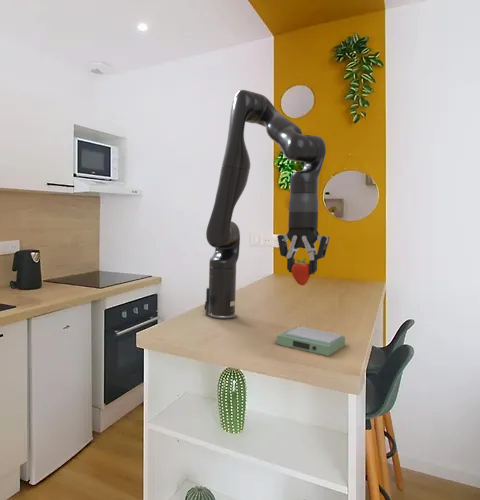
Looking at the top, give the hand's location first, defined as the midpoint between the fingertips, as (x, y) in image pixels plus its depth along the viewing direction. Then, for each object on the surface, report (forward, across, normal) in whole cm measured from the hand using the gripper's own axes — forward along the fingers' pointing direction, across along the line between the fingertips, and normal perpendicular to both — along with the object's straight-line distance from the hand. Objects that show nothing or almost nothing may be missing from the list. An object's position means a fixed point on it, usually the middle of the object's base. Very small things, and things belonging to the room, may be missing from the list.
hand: (301, 272), depth 114 cm
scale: (+20, -3, -1) cm, 20 cm away
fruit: (+4, 0, 0) cm, 4 cm away
